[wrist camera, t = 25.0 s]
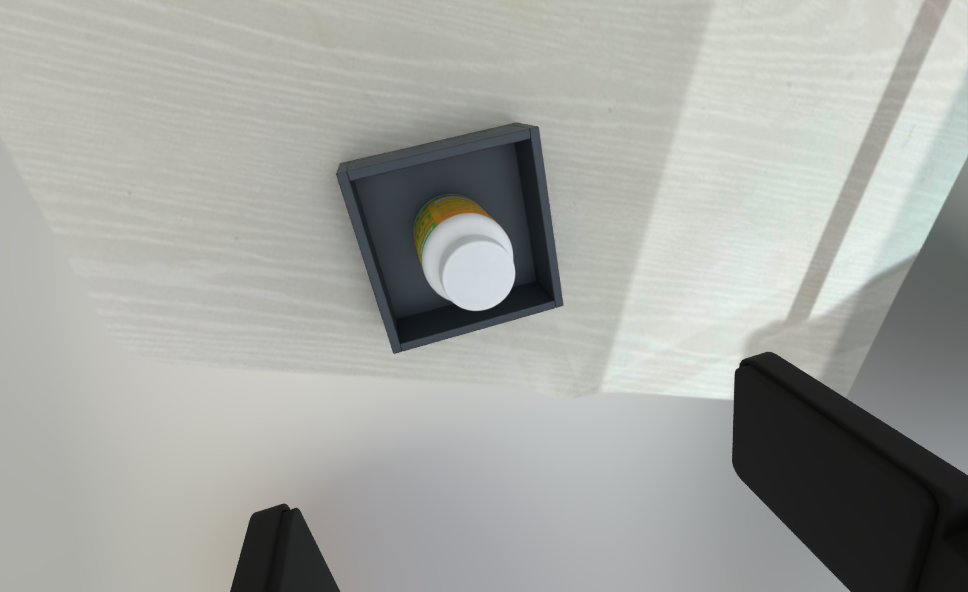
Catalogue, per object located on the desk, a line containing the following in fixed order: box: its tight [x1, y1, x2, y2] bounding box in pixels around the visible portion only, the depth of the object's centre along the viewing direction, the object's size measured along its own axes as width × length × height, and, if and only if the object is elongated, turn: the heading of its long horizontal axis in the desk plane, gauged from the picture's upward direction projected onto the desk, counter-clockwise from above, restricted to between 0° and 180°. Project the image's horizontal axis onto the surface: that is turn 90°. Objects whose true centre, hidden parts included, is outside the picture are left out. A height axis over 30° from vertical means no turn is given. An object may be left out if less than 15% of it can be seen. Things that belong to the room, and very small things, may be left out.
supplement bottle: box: [413, 194, 515, 311], centre depth 30 cm, size 5×5×10 cm
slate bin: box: [336, 123, 563, 354], centre depth 33 cm, size 12×12×4 cm
